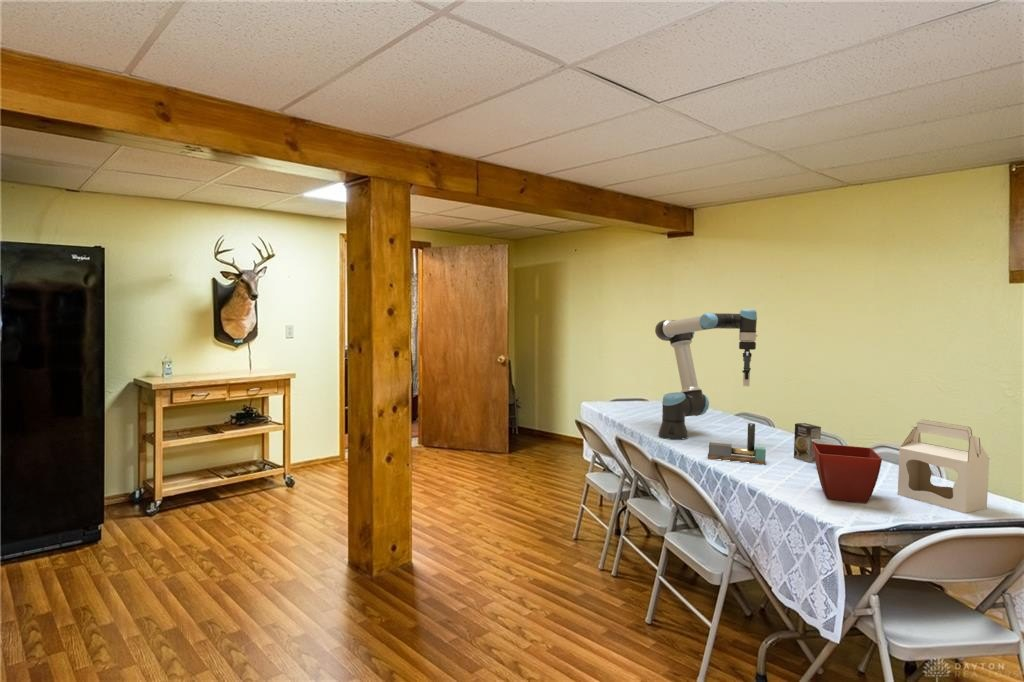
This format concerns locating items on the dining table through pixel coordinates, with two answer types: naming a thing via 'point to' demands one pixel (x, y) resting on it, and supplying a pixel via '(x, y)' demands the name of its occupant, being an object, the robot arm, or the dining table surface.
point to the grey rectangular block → (720, 449)
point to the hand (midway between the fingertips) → (746, 384)
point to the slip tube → (750, 443)
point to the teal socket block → (760, 453)
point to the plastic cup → (823, 442)
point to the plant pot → (847, 471)
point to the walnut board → (737, 458)
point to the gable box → (967, 464)
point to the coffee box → (805, 441)
